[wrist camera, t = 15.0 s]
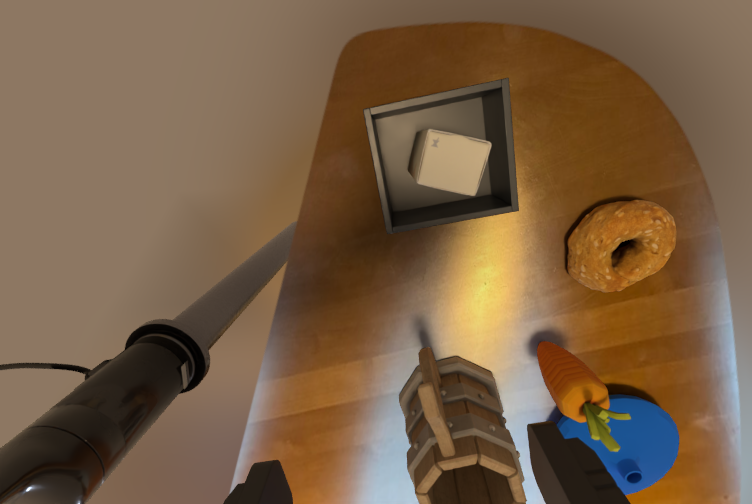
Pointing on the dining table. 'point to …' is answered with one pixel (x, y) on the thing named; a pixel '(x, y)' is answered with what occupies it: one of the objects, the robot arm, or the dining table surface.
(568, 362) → the carrot
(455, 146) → the box
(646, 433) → the vase
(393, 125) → the bin
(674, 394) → the dining table surface
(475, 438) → the tankard
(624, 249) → the bagel
